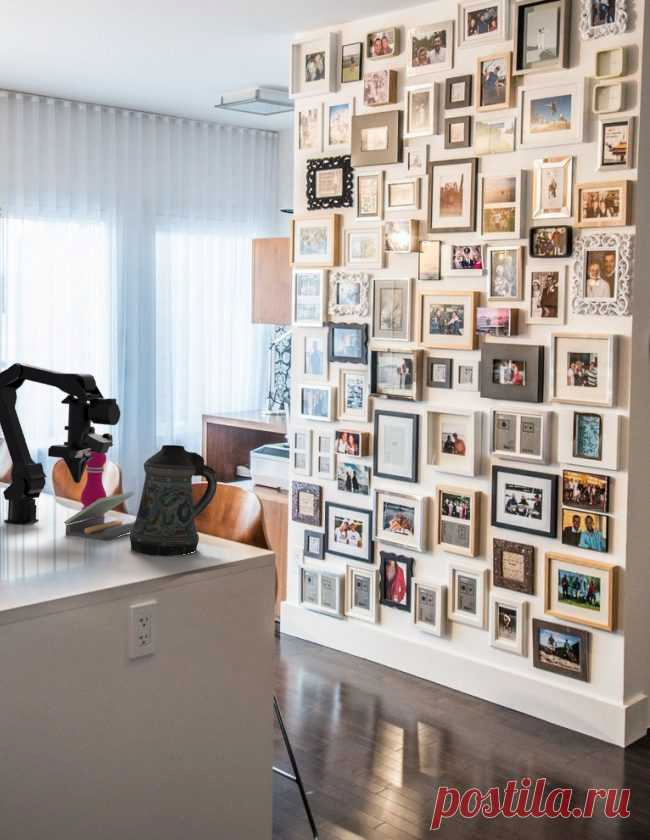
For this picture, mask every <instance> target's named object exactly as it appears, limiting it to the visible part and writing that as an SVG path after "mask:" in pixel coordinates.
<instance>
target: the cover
mask: <svg viewBox="0 0 650 840" xmlns="http://www.w3.org/2000/svg"><path fill="white" fill-rule="evenodd" d="M134 495H135V492H134V491H129V492H124V493H120V494H114V495H110V496H107V497H105V498H100V499H98V500H97V501H95V502H94V503H92V504H91V505H89V506H87V507H86V508H84V509H83V510H82V509H81V510H80V511H78V512H77V513H76V514H73V516H71V517H69V518H68V519H66V520H65V521H64V522H63V523H64V525H65V526H66V525H68V524H72V523H76V522H80V521H84V520H88V519H92V518H96V517H100V516H101V517H103V516H104V515H105V514H106V513H108V512H110V511H111V510H112V509H114V508H116V507H117V506H119V505H120V504H122V503H123V502H125V501H126V500H128V499H129V498H130V497H132V496H134ZM103 514H104V515H103Z"/></svg>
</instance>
